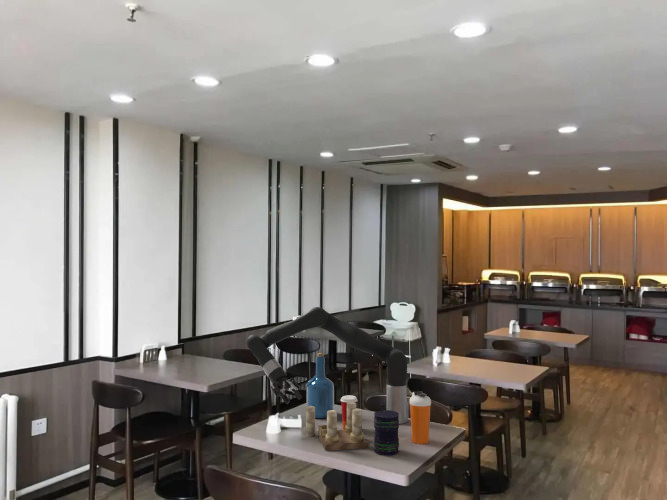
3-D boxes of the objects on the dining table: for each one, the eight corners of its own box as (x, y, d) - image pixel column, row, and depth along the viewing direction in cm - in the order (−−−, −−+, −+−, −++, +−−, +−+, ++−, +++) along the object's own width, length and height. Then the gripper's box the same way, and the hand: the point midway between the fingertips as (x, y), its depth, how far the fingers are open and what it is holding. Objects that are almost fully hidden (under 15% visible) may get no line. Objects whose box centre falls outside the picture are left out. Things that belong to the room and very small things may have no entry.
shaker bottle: (417, 446, 223) (417, 396, 224) (405, 439, 231) (405, 392, 232) (435, 442, 227) (435, 394, 228) (422, 436, 235) (422, 389, 236)
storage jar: (404, 453, 216) (404, 406, 216) (384, 457, 210) (384, 410, 211) (388, 445, 224) (388, 401, 224) (368, 450, 219) (368, 404, 219)
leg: (312, 433, 240) (312, 405, 240) (316, 435, 236) (316, 407, 237) (304, 434, 238) (304, 406, 238) (307, 437, 235) (307, 408, 235)
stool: (357, 434, 238) (357, 401, 238) (366, 447, 221) (366, 411, 222) (318, 436, 235) (318, 403, 235) (325, 450, 218) (325, 414, 218)
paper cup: (358, 426, 250) (358, 395, 250) (357, 431, 242) (357, 399, 242) (341, 425, 251) (341, 394, 251) (339, 431, 243) (339, 399, 243)
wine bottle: (333, 411, 275) (333, 350, 275) (334, 418, 261) (334, 355, 262) (305, 411, 274) (305, 351, 274) (305, 419, 261) (305, 355, 261)
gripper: (268, 369, 242) (289, 398, 235) (289, 363, 254) (309, 392, 247) (259, 379, 245) (279, 409, 238) (280, 374, 256) (299, 402, 250)
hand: (294, 400), depth 243 cm, fingers open, 8 cm apart
